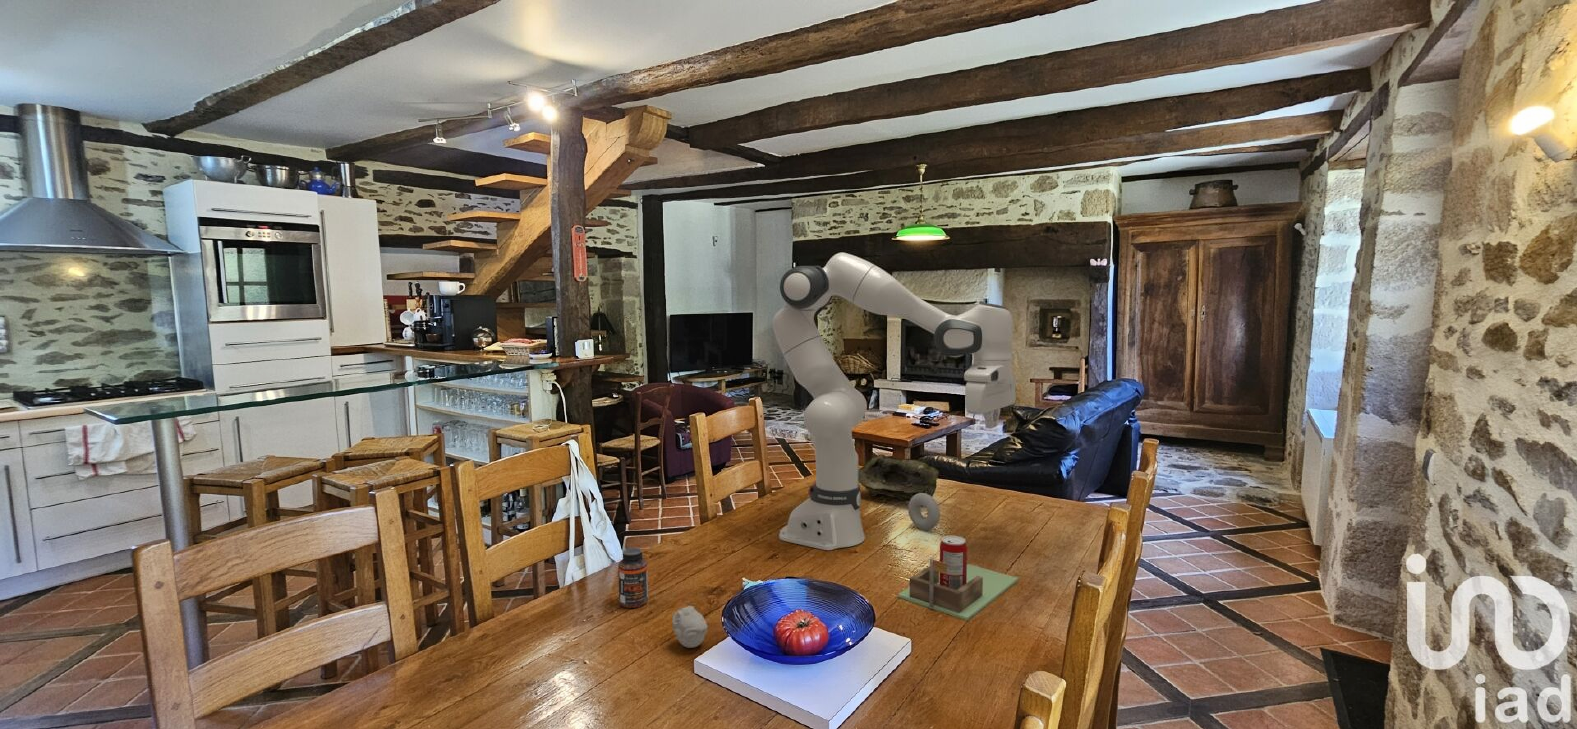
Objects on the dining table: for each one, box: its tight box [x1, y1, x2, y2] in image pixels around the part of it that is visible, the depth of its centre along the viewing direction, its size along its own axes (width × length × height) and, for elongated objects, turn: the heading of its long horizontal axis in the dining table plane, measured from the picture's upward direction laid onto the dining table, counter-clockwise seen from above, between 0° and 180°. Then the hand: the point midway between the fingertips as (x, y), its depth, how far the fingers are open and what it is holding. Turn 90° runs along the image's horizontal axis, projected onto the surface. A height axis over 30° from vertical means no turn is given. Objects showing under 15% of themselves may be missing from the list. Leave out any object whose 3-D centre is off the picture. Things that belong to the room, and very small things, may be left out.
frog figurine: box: [671, 605, 709, 649], centre depth 124 cm, size 6×7×7 cm
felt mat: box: [897, 563, 1019, 622], centre depth 146 cm, size 24×16×1 cm, turn 138°
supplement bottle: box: [617, 547, 649, 609], centre depth 141 cm, size 6×6×11 cm
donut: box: [907, 493, 941, 531], centre depth 182 cm, size 10×4×10 cm, turn 40°
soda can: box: [939, 535, 968, 590], centre depth 142 cm, size 6×6×12 cm
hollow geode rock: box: [858, 454, 940, 508], centre depth 209 cm, size 28×13×15 cm
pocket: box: [909, 557, 983, 613], centre depth 140 cm, size 12×11×10 cm
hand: (991, 427), depth 163 cm, fingers closed
